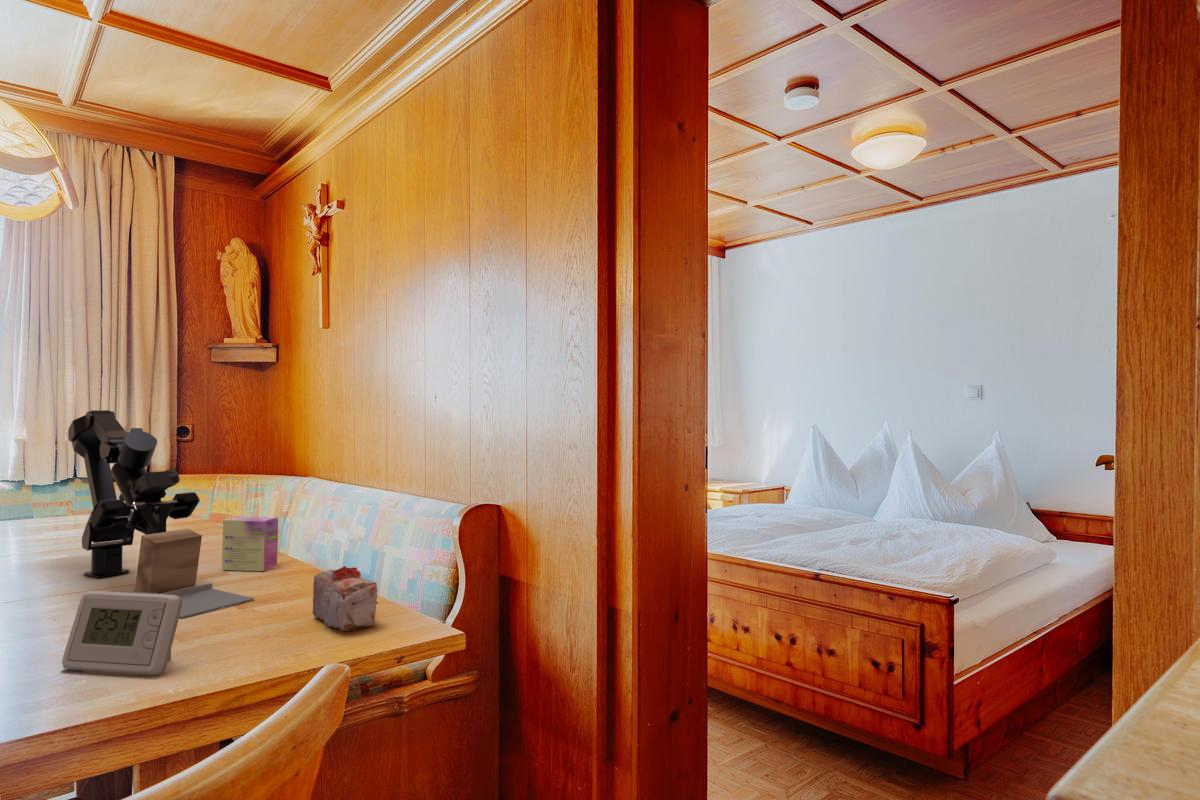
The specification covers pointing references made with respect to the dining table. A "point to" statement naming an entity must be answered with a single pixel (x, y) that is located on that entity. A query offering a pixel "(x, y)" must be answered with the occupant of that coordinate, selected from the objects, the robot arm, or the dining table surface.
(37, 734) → the dining table surface
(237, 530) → the box
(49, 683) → the dining table surface
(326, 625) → the food item
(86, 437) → the robot arm
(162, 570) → the walnut block
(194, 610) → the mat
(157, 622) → the digital clock
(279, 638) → the dining table surface
